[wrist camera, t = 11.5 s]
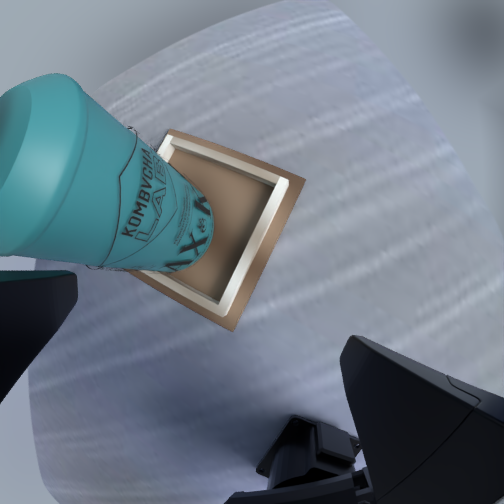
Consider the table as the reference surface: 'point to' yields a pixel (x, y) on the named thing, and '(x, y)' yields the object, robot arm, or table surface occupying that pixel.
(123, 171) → the beverage bottle
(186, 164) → the tray
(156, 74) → the table surface
